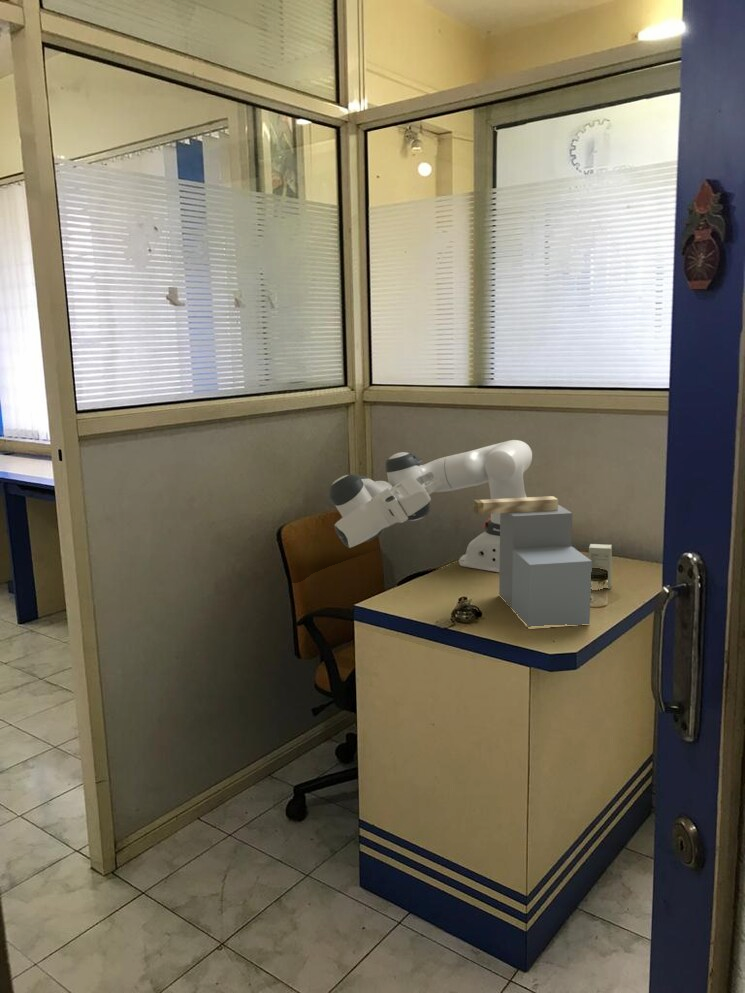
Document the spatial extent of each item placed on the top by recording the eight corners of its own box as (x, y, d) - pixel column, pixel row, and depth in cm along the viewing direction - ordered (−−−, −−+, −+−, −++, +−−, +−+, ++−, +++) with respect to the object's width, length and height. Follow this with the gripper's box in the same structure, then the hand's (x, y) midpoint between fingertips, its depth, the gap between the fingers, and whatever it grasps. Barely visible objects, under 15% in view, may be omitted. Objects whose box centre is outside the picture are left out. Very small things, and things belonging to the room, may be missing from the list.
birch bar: (477, 514, 217) (477, 503, 216) (473, 511, 221) (473, 499, 220) (557, 510, 220) (558, 499, 219) (552, 506, 224) (552, 495, 223)
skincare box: (611, 585, 239) (613, 544, 236) (610, 589, 235) (612, 548, 232) (588, 583, 241) (590, 542, 238) (587, 587, 237) (588, 546, 234)
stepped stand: (528, 629, 206) (530, 529, 201) (499, 595, 231) (500, 506, 226) (589, 625, 208) (593, 526, 203) (553, 592, 233) (556, 503, 228)
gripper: (391, 506, 226) (434, 479, 226) (404, 524, 206) (450, 495, 206) (379, 487, 225) (422, 460, 225) (391, 503, 205) (438, 474, 205)
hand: (436, 477), depth 215 cm, fingers open, 8 cm apart
